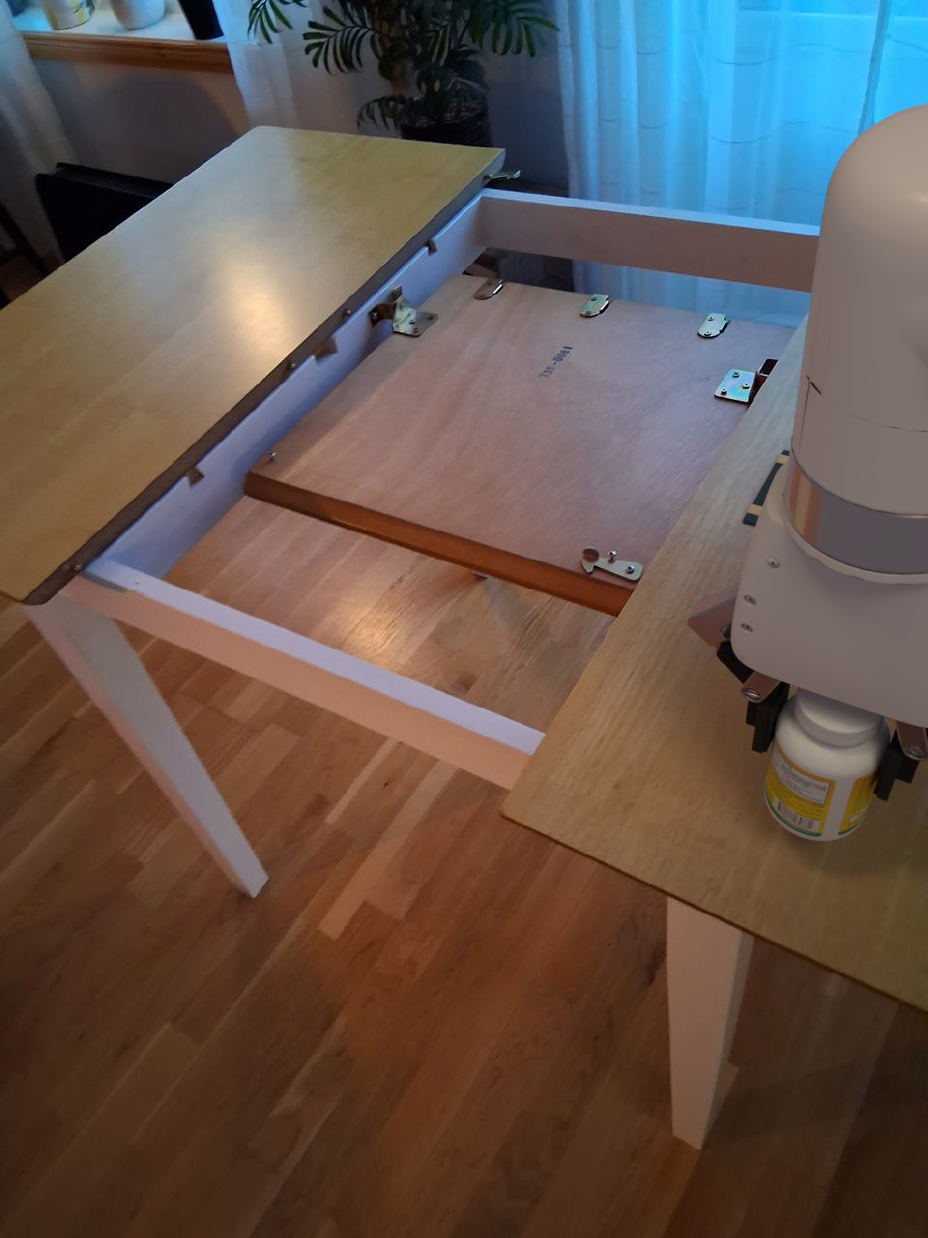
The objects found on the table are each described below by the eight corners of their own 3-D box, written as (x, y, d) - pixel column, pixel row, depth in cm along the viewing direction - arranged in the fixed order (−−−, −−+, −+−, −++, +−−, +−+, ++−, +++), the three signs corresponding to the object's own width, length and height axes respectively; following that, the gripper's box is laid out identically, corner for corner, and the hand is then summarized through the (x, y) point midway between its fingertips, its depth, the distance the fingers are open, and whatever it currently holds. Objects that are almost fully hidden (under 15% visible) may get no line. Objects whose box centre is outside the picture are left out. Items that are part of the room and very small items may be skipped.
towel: (857, 471, 73) (859, 466, 73) (820, 545, 69) (821, 540, 68) (783, 452, 76) (783, 448, 75) (742, 523, 71) (743, 518, 71)
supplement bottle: (774, 847, 49) (793, 749, 42) (755, 761, 53) (769, 657, 46) (879, 841, 48) (917, 740, 41) (853, 755, 52) (883, 647, 45)
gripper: (1186, 476, 32) (1028, 760, 45) (709, 380, 39) (696, 647, 53) (1154, 629, 28) (992, 888, 41) (634, 490, 36) (640, 747, 49)
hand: (827, 751), depth 47 cm, fingers closed on supplement bottle, 5 cm apart
